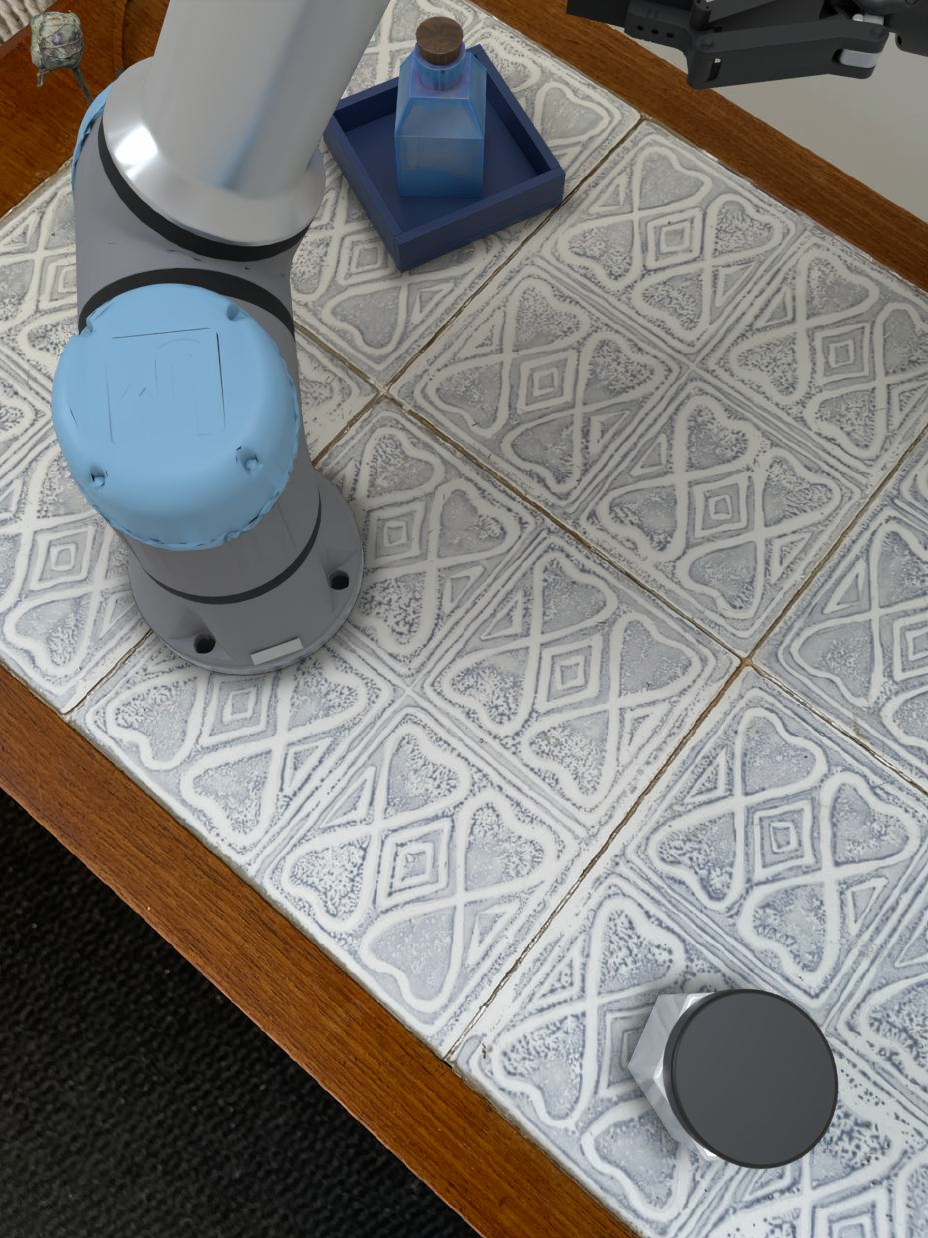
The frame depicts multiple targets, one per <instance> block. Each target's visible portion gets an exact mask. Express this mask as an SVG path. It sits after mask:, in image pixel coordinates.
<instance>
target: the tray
mask: <svg viewBox="0 0 928 1238" xmlns="http://www.w3.org/2000/svg"><path fill="white" fill-rule="evenodd" d="M466 52H469V53H472V54H473V55H474V56H475V57H476V58H477V59H478V61H479V62H480V63H481V64H482V65H483V66H484V67H485V68H486V69H487V70H486V106H485V138H484V161H483V184H482V199H462V198H434V197H406V196H399V188H398V175H397V162H396V149H395V123H396V110H397V96H398V83H399V75H398V76H396V77H393V78H391V79H388V80H385V81H382V82H381V83H378V84H376V85H374V86H371V87H368V88H365V89H363V90H361V91H358V92H356V93H353V94H350V95H348V96H346V97H343V98H341V100H340V102H339V103H338V105H337V107H336V109H335V111H334V113H333V115H332V117H331V119H330V121H329V123H328V125H327V127H326V129H325V131H324V133H323V135H322V140H323V142H324V144H325V146H326V148H327V149H328V150H329V153H330V154H331V156H332V158H333V159H334V161H335V163H336V164H337V167H338V168H339V170H340V171H341V173H342V175H343V176H344V178H345V180H346V182H347V183H348V185H349V187H350V189H351V190H352V192H353V193H354V196H355V197H356V199H357V201H358V202H359V204H360V206H361V208H362V209H363V210H364V213H365V214H366V216H367V218H368V219H369V221H370V223H371V224H372V226H373V228H374V229H375V231H376V234H377V235H378V237H379V238H380V240H381V242H382V243H383V245H384V246H385V248H386V250H387V251H388V253H389V255H390V257H391V259H392V260H393V262H394V264H395V265H396V268H397V269H398V270H399V272H400V273H405V272H407V271H408V270H411V269H413V268H416V267H418V266H420V265H423V264H425V263H427V262H430V261H433V260H434V259H436V258H439V257H441V256H444V255H446V254H448V253H451V252H452V251H453V252H454V251H455V250H457V249H460V248H462V247H464V246H467V245H469V244H472V243H474V242H476V241H479V240H481V239H483V238H485V237H487V236H490V235H492V234H495V233H497V232H499V231H502V230H505V229H506V228H509V227H511V226H513V225H515V224H518V223H520V222H523V221H525V220H527V219H530V218H532V217H534V216H536V215H539V214H541V213H543V212H546V211H549V210H550V209H553V208H555V207H559V206H560V205H562V204H563V200H564V192H565V191H564V190H565V183H566V175H567V174H566V172H565V170H564V168H563V167H562V166H561V164H560V163H559V161H558V159H557V157H556V156H555V155H554V153H553V152H552V150H551V149H550V147H549V146H548V144H547V143H546V141H545V140H544V138H543V136H542V135H541V133H540V132H539V130H538V129H537V127H536V126H535V125H534V123H533V121H532V120H531V119H530V117H529V115H528V114H527V112H526V111H525V109H524V108H523V107H522V105H521V104H520V102H519V100H518V99H517V97H516V96H515V94H514V93H513V91H512V90H511V89H510V86H509V85H508V84H507V82H506V81H505V79H504V78H503V76H502V74H501V73H500V72H499V70H498V69H497V67H496V66H495V64H494V62H493V61H492V60H491V58H490V56H489V55H488V54H487V51H486V50H485V49H484V47H483V46H482V44H481V43H478V44H476V45H472V46H471V47H468V48H466Z"/></svg>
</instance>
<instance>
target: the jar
mask: <svg viewBox="0 0 928 1238" xmlns="http://www.w3.org/2000/svg"><path fill="white" fill-rule="evenodd" d="M627 1070H628V1071H629V1073H630V1075H631V1076H632V1078H633V1080H634V1081H635V1082H636V1084H637V1085H638V1087H639V1089H640V1090H641V1091H642V1093H643V1095H644V1096H645V1098H646V1100H647V1101H648V1103H649V1104H650V1106H651V1107H652V1109H653V1111H654V1112H655V1114H656V1116H657V1117H658V1118H659V1120H660V1122H661V1123H662V1125H663V1126H664V1128H665V1129H666V1131H667V1132H668V1135H670V1137H671V1138H672V1140H675V1141H676V1142H677V1143H679V1144H681V1145H682V1146H684V1147H685V1148H687V1149H688V1150H689V1151H691V1152H693V1153H694V1154H696V1155H697V1156H699V1157H700V1158H702V1159H704V1160H705V1161H707V1162H720V1161H725V1162H727V1163H729V1164H732V1165H735V1166H738V1167H740V1168H741V1167H742V1168H744V1169H745V1168H746V1169H753V1170H770V1169H776V1168H780V1167H781V1168H782V1167H784V1166H787V1165H790V1164H793V1163H794V1162H796V1161H798V1160H800V1159H802V1158H803V1157H804V1156H806V1155H807V1154H809V1153H810V1152H811V1151H812V1150H814V1148H816V1146H817V1145H818V1144H819V1143H820V1142H821V1141H822V1139H823V1138H824V1136H825V1135H826V1133H827V1131H828V1130H829V1128H830V1126H831V1124H832V1122H833V1119H834V1117H835V1112H836V1110H837V1104H838V1099H839V1073H838V1067H837V1063H836V1060H835V1056H834V1052H833V1051H832V1048H831V1046H830V1044H829V1041H828V1039H827V1037H826V1035H825V1034H824V1032H823V1031H822V1029H821V1028H820V1026H819V1025H818V1024H817V1022H815V1020H814V1019H813V1018H812V1016H810V1015H809V1013H807V1012H806V1011H805V1010H803V1008H801V1007H800V1006H799V1005H797V1004H796V1003H794V1002H793V1001H791V1000H789V999H788V998H786V997H785V996H782V995H781V994H780V993H779V992H778V991H777V990H775V989H758V988H730V989H723V990H718V991H716V990H715V991H697V992H695V991H694V992H679V993H678V992H677V993H660V994H659V995H658V996H657V998H656V1000H655V1003H654V1005H653V1007H652V1010H651V1012H650V1014H649V1016H648V1019H647V1021H646V1023H645V1026H644V1028H643V1030H642V1032H641V1035H640V1036H639V1039H638V1042H637V1044H636V1046H635V1048H634V1051H633V1053H632V1055H631V1058H630V1060H629V1062H628V1065H627Z"/></svg>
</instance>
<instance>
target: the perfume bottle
mask: <svg viewBox="0 0 928 1238" xmlns="http://www.w3.org/2000/svg"><path fill="white" fill-rule="evenodd" d="M464 36H465V34H464V29H463V27H462V25H461V24H460V23H459V22H457V21H456V20H455V19H453V18H450V17H448V16H444V15H443V16H442V15H438V16H432V17H429V18H426V19H424V20H423V21H422V22H420V24H419V25H418V26H417V27H416V31H415V40H416V41H415V44H414V47H413V48H414V49H413V50H412V51H411V52H410V53H409V54H408V56H406V58H405V59H404V60H403V61H402V62H401V64H400V65H399V72H398V76H399V83H398V96H397V110H396V123H395V149H396V162H397V175H398V188H399V196H406V197H434V198H462V199H482V184H483V161H484V138H485V106H486V70H487V69H486V68H485V67H484V66H483V65H482V64H481V63H480V62H479V61H478V59H477V58H476V57H475V56H474V55H473V54H472V53H469V52H466V49H467V48H466V44H465V42H464Z"/></svg>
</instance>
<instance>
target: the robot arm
mask: <svg viewBox="0 0 928 1238" xmlns="http://www.w3.org/2000/svg"><path fill="white" fill-rule="evenodd" d="M390 2H391V0H169V3H168V7H167V10H166V14H165V16H164V19H163V23H162V25H161V30H160V33H159V37H158V40H157V43H156V45H155V46H156V47H155V50H154V53H153V55H152V56H150V57H147V58H144V59H142V60H139V61H137V62H135V63H133V64H132V65H131V66H129V67H128V68H127V69H125V65H124V66H123V65H122V66H123V68H122V67H120V68H121V69H122V70H121V69H120V70H119V71H117V73H118V74H117V73H116V74H115V73H114V78H115V80H116V81H115V80H114V81H115V82H114V81H112V82H113V83H112V82H111V83H112V84H111V83H110V84H109V85H107V87H106V88H105V89H103V90H102V91H101V92H100V93H99V94H98V95H97V96H96V97H95V99H93V100H94V102H93V103H92V104H91V106H90V107H89V106H88V109H87V110H86V112H85V114H84V117H83V118H82V121H81V124H80V127H79V129H78V133H77V137H76V138H77V139H76V144H75V147H74V150H73V156H72V162H71V173H70V180H71V194H72V199H73V206H74V220H75V221H74V224H75V225H74V228H75V229H74V232H75V234H74V235H75V236H74V237H75V272H76V273H75V275H76V306H77V307H76V313H77V314H76V315H77V317H76V318H77V331H78V335H75V334H74V335H71V336H70V338H69V340H68V341H67V343H66V345H65V346H64V348H63V349H62V350H63V351H62V352H61V354H60V357H59V360H58V362H57V366H56V369H55V372H54V375H53V381H52V386H51V397H50V398H51V400H50V402H51V403H50V405H51V417H52V424H53V425H52V426H53V430H54V433H55V437H56V440H57V443H58V446H59V448H60V451H61V453H62V456H63V458H64V460H65V462H67V465H68V469H69V473H70V475H71V478H72V480H73V481H74V482H75V483H76V484H77V487H78V489H79V491H80V492H81V494H82V495H83V496H84V498H85V499H86V501H87V502H88V504H89V505H90V506H91V508H92V509H93V510H95V511H96V512H97V513H98V514H99V515H100V516H101V517H102V518H103V519H104V520H105V522H106V523H107V524H108V525H109V527H110V528H111V530H112V531H113V533H114V534H115V535H117V537H118V538H119V540H120V541H121V542H122V544H123V545H124V546H125V548H126V549H127V550H128V554H127V555H128V557H127V571H128V581H129V586H130V591H131V594H132V598H133V600H134V602H135V605H136V608H137V609H138V611H139V614H140V616H141V617H142V619H143V620H144V622H145V623H146V624H147V626H148V627H149V628H150V629H151V631H152V632H153V633H154V635H155V636H157V638H158V639H159V641H160V642H162V643H163V644H164V646H166V647H167V648H168V650H171V652H173V653H174V654H176V655H177V656H178V657H180V658H182V659H183V660H185V661H186V662H189V663H191V664H193V665H195V666H196V667H200V668H202V669H205V670H209V671H211V672H215V673H220V674H225V675H226V674H227V675H239V676H240V675H241V676H242V675H243V676H244V675H245V676H246V675H258V674H265V673H270V672H274V671H278V670H281V669H285V668H287V667H289V666H292V665H294V664H296V663H299V662H300V661H302V660H304V659H306V658H308V657H309V656H311V655H312V654H314V653H315V652H317V651H318V650H319V649H321V648H322V647H323V646H325V644H327V643H328V642H329V641H330V640H331V639H332V638H333V637H334V636H335V635H336V633H338V631H340V629H341V627H342V626H343V625H344V623H345V622H346V620H347V619H348V618H349V616H350V614H351V612H352V611H353V608H354V607H355V604H356V602H357V599H358V596H359V593H360V591H361V588H362V587H361V586H362V582H363V576H364V563H365V561H364V560H365V558H364V549H363V544H362V543H363V541H362V538H361V533H360V529H359V525H358V522H357V518H356V515H355V514H354V511H353V509H352V507H351V506H350V504H349V502H348V501H347V499H346V497H345V496H344V494H343V493H342V492H341V491H340V489H339V488H338V487H337V486H336V485H335V484H334V483H333V482H332V481H331V480H330V479H329V478H328V477H326V476H325V475H324V474H323V473H322V472H321V471H319V470H318V469H316V468H315V467H314V465H313V462H312V459H311V455H310V452H309V447H308V442H307V438H306V437H307V436H306V431H305V422H304V415H303V404H302V403H303V402H302V395H301V394H302V393H301V381H300V373H299V361H298V360H299V359H298V351H297V343H296V329H295V322H294V321H295V320H294V310H293V300H292V299H293V297H292V289H291V288H292V287H291V271H292V265H293V260H294V257H295V255H296V253H297V251H298V249H299V248H300V246H301V244H302V242H303V240H304V238H305V236H306V234H307V233H308V231H309V229H310V227H311V225H312V223H313V221H314V220H315V217H316V216H317V214H318V212H319V210H320V209H321V208H320V207H321V205H322V203H323V200H324V196H325V193H326V187H327V173H326V166H325V161H324V158H323V157H324V156H323V153H322V150H321V148H320V146H319V143H320V141H321V139H322V138H323V133H324V131H325V129H326V127H327V125H328V123H329V121H330V119H331V117H332V115H333V113H334V111H335V109H336V107H337V105H338V103H339V102H340V100H341V99H343V98H342V97H343V96H344V94H345V91H346V90H347V88H348V85H349V84H350V81H351V80H352V78H353V76H354V73H355V72H356V69H357V68H358V66H359V63H360V62H361V60H362V59H363V56H364V54H365V52H366V51H367V48H368V46H369V44H370V42H371V40H372V38H373V36H374V34H375V32H376V30H377V28H378V26H379V24H380V22H381V20H382V19H383V16H384V14H385V12H386V11H387V9H388V6H389V4H390ZM565 14H566V15H570V16H573V17H578V18H582V19H586V20H590V21H594V22H598V23H602V24H605V25H610V26H615V27H619V28H622V29H623V33H624V34H625V35H627V36H628V37H630V38H632V39H636V40H640V41H644V42H648V43H649V42H650V43H651V44H652V43H653V44H657V45H660V46H663V47H668V48H671V49H675V50H679V51H680V52H681V53H682V54H683V56H684V57H685V60H686V67H687V75H686V78H685V79H686V84H687V85H688V86H689V87H690V88H691V89H693V90H698V91H699V90H708V89H718V88H724V87H725V88H726V87H732V86H733V87H734V86H743V85H750V84H758V83H766V82H773V81H774V82H775V81H783V80H792V79H800V78H809V77H816V76H824V75H832V76H836V77H837V76H838V77H845V78H852V79H855V80H856V79H857V80H867V79H869V78H871V76H873V73H874V71H875V69H876V66H877V65H878V61H879V60H880V58H881V56H882V53H883V51H884V48H885V46H886V44H887V42H888V39H889V37H890V33H892V34H894V42H895V46H896V48H897V49H899V51H902V52H904V53H909V54H913V55H918V56H921V57H925V58H928V0H710V1H707V0H567V1H566V7H565ZM716 60H720V61H717V62H716ZM116 75H117V76H116Z"/></svg>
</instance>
